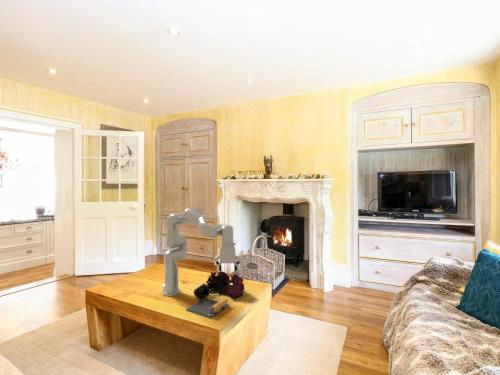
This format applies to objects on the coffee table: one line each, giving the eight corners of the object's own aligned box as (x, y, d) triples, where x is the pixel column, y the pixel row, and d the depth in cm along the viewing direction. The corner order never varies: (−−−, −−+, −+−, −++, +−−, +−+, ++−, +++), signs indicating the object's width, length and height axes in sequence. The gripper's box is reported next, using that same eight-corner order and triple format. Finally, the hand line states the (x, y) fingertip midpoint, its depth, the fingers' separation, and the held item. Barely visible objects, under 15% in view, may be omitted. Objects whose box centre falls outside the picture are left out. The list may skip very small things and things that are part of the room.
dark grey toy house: (202, 291, 191) (201, 282, 191) (210, 293, 188) (209, 284, 188) (193, 297, 182) (193, 288, 182) (202, 299, 179) (201, 289, 179)
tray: (186, 310, 164) (186, 307, 164) (204, 299, 180) (204, 297, 180) (212, 318, 154) (212, 315, 154) (228, 306, 170) (228, 303, 170)
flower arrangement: (201, 291, 189) (202, 271, 190) (215, 284, 207) (216, 265, 208) (238, 301, 176) (239, 279, 176) (250, 292, 194) (251, 272, 194)
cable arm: (211, 314, 155) (211, 309, 155) (207, 313, 156) (207, 308, 156) (227, 303, 170) (227, 298, 170) (223, 301, 172) (223, 297, 172)
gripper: (241, 243, 169) (241, 269, 169) (215, 243, 169) (215, 269, 169) (240, 246, 161) (241, 273, 161) (213, 246, 162) (213, 273, 162)
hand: (228, 271), depth 165 cm, fingers open, 9 cm apart
